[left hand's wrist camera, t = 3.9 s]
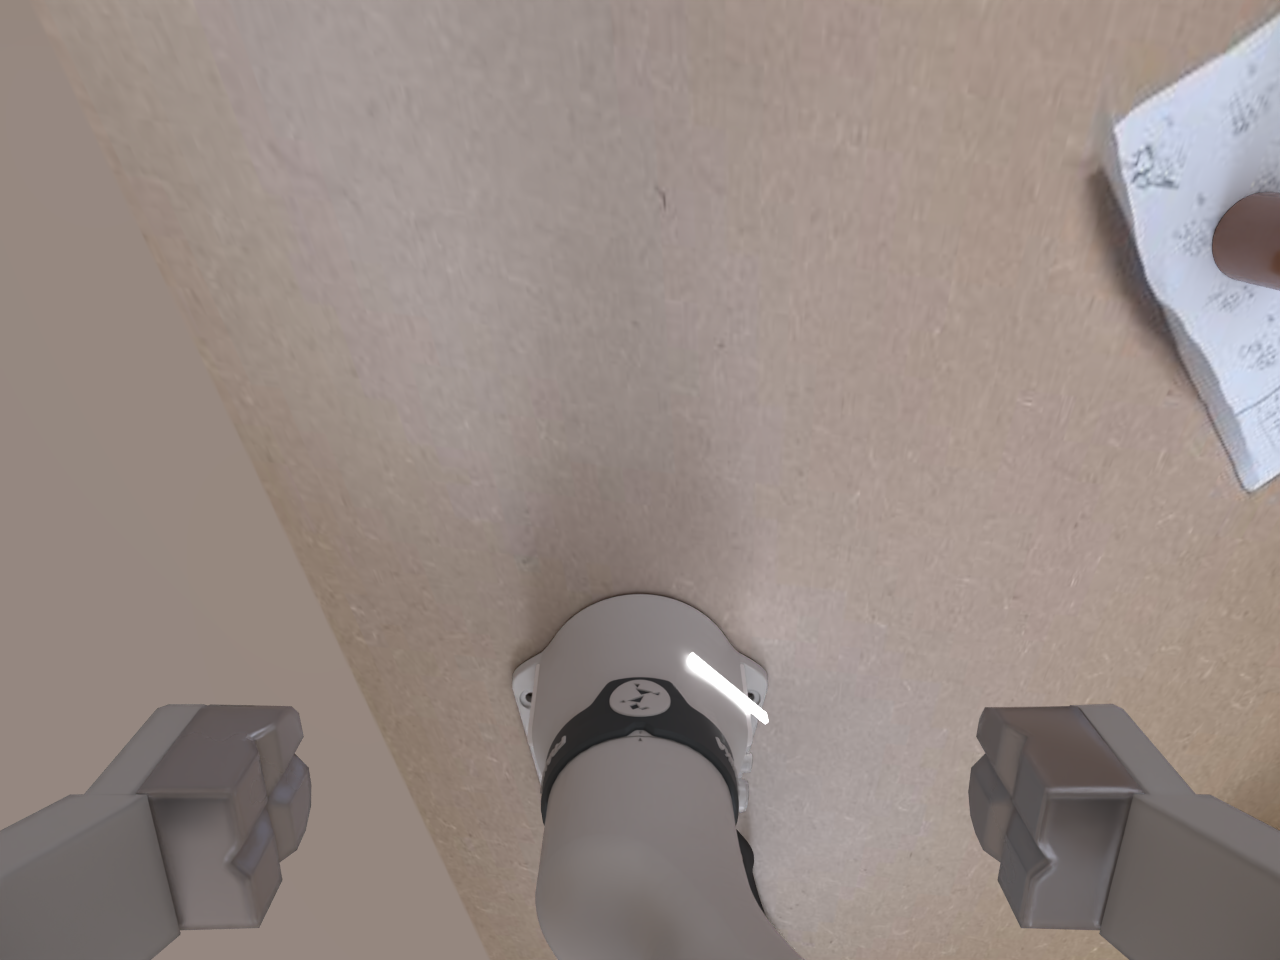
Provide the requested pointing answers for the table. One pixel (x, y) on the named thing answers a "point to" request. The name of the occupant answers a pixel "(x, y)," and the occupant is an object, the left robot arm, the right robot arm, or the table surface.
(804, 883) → the table surface
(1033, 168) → the table surface
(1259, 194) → the bottle
